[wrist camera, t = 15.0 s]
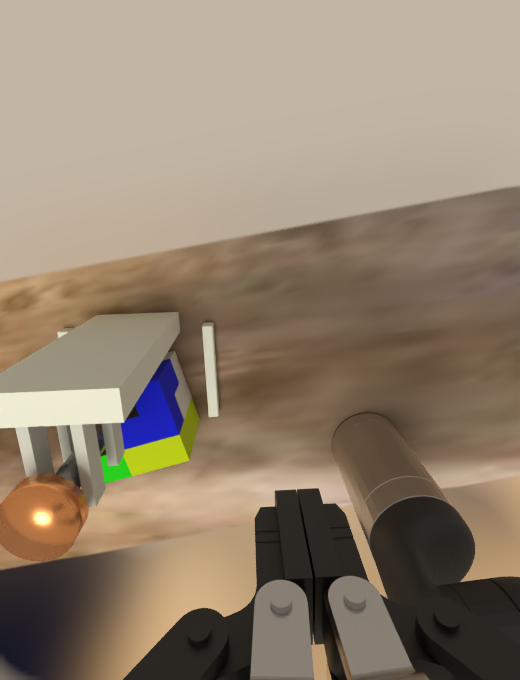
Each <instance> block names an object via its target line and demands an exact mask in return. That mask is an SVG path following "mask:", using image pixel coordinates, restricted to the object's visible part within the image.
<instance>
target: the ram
mask: <svg viewBox="0 0 520 680" xmlns="http://www.w3.org/2000/svg"><path fill="white" fill-rule="evenodd" d="M95 426H96V433H97V439H98V445H99V451H100V455H101V454H102V452H103V451H104V449H105V443H104V436H103V430H102V424H95ZM80 487H81V483H80V477H79V472H78V466H77V461H76V456H75V450H73V452H72V453H71V454H70V456H69V457H68V458H67V460H66V461H65V462H64V464H63V465H62V466H61V467H60V469H59V470H58V471H57V473H56V474H55V475H54V474H37V475H33V476H30V477H28V478H26V479H24V480H22V481H21V482H20V483H19V484H18V485H17V486H16V487H15V488H14V489H13V491H12V492H11V493H10V494H9V495H8V496H7V497H6V498H5V500H4V501H3V502H2V503H1V504H0V544H1V545H2V546H3V547H4V548H5V549H6V550H7V551H9V552H10V553H12V554H14V555H15V556H18V557H20V558H23V559H26V560H31V561H48V560H52V559H55V558H58V557H60V556H62V555H63V554H65V553H66V552H67V551H68V550H69V549H70V548H71V547H72V545H73V543H74V541H75V540H76V538H77V536H78V534H79V532H80V530H81V529H82V527H83V525H84V523H85V521H86V519H87V516H88V510H89V508H88V502H87V499H86V497H85V495H84V493H83V492H82V490H81V489H80Z"/></svg>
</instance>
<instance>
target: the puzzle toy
mask: <svg viewBox="0 0 520 680" xmlns="http://www.w3.org/2000/svg"><path fill="white" fill-rule="evenodd" d="M198 423H199V416H198V413H197V410H196V407H195V405H194V402H193V399H192V396H191V394H190V391H189V388H188V385H187V383H186V380H185V377H184V374H183V372H182V369H181V366H180V363H179V361H178V358H177V355H176V352H175V350H174V351H171V352H167V354H166V355H165V357H164V359H163V360H162V362H161V363H160V365H159V367H158V368H157V370H156V372H155V373H154V375H153V376H152V378H151V380H150V381H149V383H148V384H147V386H146V388H145V389H144V391H143V393H142V394H141V396H140V397H139V399H138V401H137V402H136V404H135V406H134V407H133V409H132V410H131V412H130V414H129V415H128V417H127V418H126V420H125V422H124V423H121V429H122V436H123V443H124V450H125V453H124V455H123V457H122V459H121V461H120V462H119V464H118V466H108V461H107V455H106V449H104V451H103V452H102V454H101V455H100V457H101V463H102V469H103V475H104V481H105V483H108V482H112V481H116V480H120V479H123V478H127V477H131V476H134V475H138V474H142V473H145V472H149V471H153V470H156V469H160V468H164V467H167V466H171V465H175V464H178V463H182V462H186V461H189V460H190V456H191V452H192V448H193V443H194V439H195V435H196V431H197V427H198Z"/></svg>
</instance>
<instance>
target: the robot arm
mask: <svg viewBox="0 0 520 680" xmlns="http://www.w3.org/2000/svg"><path fill="white" fill-rule="evenodd" d="M332 450H333V454H334V457H335V460H336V462H337V465H338V467H339V470H340V473H341V475H342V478H343V481H344V483H345V486H346V488H347V491H348V493H349V496H350V499H351V501H352V504H353V506H354V509H355V511H356V514H357V517H358V519H359V522H360V524H361V527H362V530H363V531H364V534H365V537H366V539H367V542H368V545H369V547H370V550H371V552H372V555H373V558H374V560H375V563H376V566H377V569H378V572H379V575H380V577H381V581H382V583H383V586H384V589H385V592H386V594H387V597H388V599H387V598H385V597H383V596H382V595H381V594H379V592H378V590H377V589H376V588H375V587H374V586H373V585H372V584H371V583H370V582H369V580H368V578H367V575H366V572H365V569H364V566H363V564H362V561H361V558H360V555H359V552H358V549H357V546H356V544H355V541H354V539H353V535H352V532H351V529H350V527H349V523H348V520H347V518H346V515H345V513H344V512H343V511H342V510H341V509H340V508H339V507H338V506H337V505H336V504H335V503H334V504H323V502H322V499H321V495H320V491H319V489H318V488H317V489H297V492H296V490H279V491H275V507H261V508H260V510H259V512H258V513H257V515H256V517H255V542H256V573H257V589H256V593H255V595H254V597H253V599H252V601H251V602H250V603H249V604H248V605H247V606H246V607H245V608H243V609H242V610H241V611H238V612H237V613H234V614H232V615H229V616H227V617H223V616H222V615H221V614H220V613H219V612H217V611H215V610H212V609H208V608H200V609H196V610H193V611H190V612H188V613H187V614H185V615H184V616H183V617H182V618H181V619H180V620H179V621H178V622H177V623H176V624H175V625H174V626H173V627H172V628H171V629H170V630H169V631H168V632H167V633H166V634H165V636H164V637H163V638H162V639H161V640H160V641H159V642H158V643H157V644H156V645H155V646H154V647H153V648H152V649H151V650H150V651H149V653H148V654H147V655H146V656H145V657H144V658H143V659H142V660H141V661H140V662H139V663H138V664H137V665H136V666H135V667H134V668H133V669H132V670H131V672H130V673H129V674H128V675H127V676H126V677H125V678H124V679H123V680H314V673H313V661H312V650H311V645H312V643H313V642H312V641H313V636H312V635H314V642H315V644H324V645H325V651H326V656H327V678H328V680H520V577H497V578H490V579H480V580H474V581H466V582H460V581H461V580H462V579H463V578H464V576H465V575H466V574H467V572H468V571H469V569H470V567H471V565H472V563H473V560H474V555H475V543H474V539H473V536H472V533H471V531H470V529H469V527H468V526H467V524H466V523H465V521H464V520H463V519H462V517H461V516H460V515H459V513H458V512H457V511H456V509H455V508H454V506H453V505H452V504H451V502H450V501H449V500H448V498H447V497H446V496H445V494H444V493H443V492H442V490H441V489H440V488H439V486H438V485H437V484H436V482H435V481H434V480H433V478H432V477H431V476H430V474H429V473H428V472H427V470H426V469H425V467H424V466H423V465H422V463H421V462H420V461H419V459H418V458H417V457H416V455H415V454H414V453H413V451H412V450H411V449H410V447H409V446H408V445H407V443H406V442H405V441H404V439H403V438H402V436H401V435H400V434H399V432H398V431H397V430H396V429H395V427H394V426H393V425H392V423H391V422H390V421H389V420H387V419H386V418H385V417H383V416H381V415H377V414H374V413H363V414H358V415H355V416H352V417H350V418H349V419H347V420H345V421H344V422H343V423H342V424H341V425H340V426H339V427H338V429H337V430H336V432H335V434H334V436H333V440H332Z"/></svg>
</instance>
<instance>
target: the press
mask: <svg viewBox="0 0 520 680" xmlns="http://www.w3.org/2000/svg"><path fill="white" fill-rule="evenodd" d="M202 332H203V345H204V359H205V372H206V385H207V399H208V412H209V417H218V415H219V399H218V384H217V369H216V354H215V339H214V324H213V322H207V323H203V326H202ZM57 333H58V339H56V340H55V341H53V342H51V343H50V344H48V345H46V346H45V347H43V348H41V349H40V350H38V351H36V352H34V353H33V354H31V355H29V356H28V357H26V358H24V359H23V360H21V361H19V362H18V363H16V364H14V365H13V366H11V367H9V368H8V369H6V370H4V371H3V372H1V373H0V428H16V432H17V437H18V441H19V446H20V450H21V454H22V459H23V463H24V468H25V472H26V476H27V478H28V477H30V476H33V475H37V474H54V475H55V473H54V468H53V463H52V458H51V454H50V449H49V444H48V439H47V434H46V429H45V426H57V431H58V436H59V441H60V446H61V451H62V457H63V462H65V461H66V460H67V458H68V457H69V456H70V454H71V453H72V452H73V450H75V456H76V461H77V466H78V472H79V477H80V483H81V488H82V492H83V493H84V495H85V497H86V499H87V502H88V507H90V506H97V504H98V502H99V500H100V498H101V496H102V494H103V492H104V491H105V489H106V487H105V481H104V475H103V469H102V463H101V457H100V451H99V445H98V439H97V433H96V426H95V424H102V430H103V436H104V443H105V449H106V455H107V461H108V466H118V464H119V462H120V461H121V459H122V457H123V455H124V453H125V450H124V443H123V436H122V429H121V423H124V422H125V420H126V418H127V417H128V415H129V414H130V412H131V410H132V409H133V407H134V406H135V404H136V402H137V401H138V399H139V397H140V396H141V394H142V393H143V391H144V389H145V388H146V386H147V384H148V383H149V381H150V380H151V378H152V376H153V375H154V373H155V372H156V370H157V368H158V367H159V365H160V363H161V362H162V360H163V359H164V357H165V355H166V354H167V352H168V351H169V349H170V347H171V346H172V344H173V342H174V341H175V339H176V338H177V336H178V334H179V333H180V322H179V312H162V313H136V314H110V315H96V316H95V317H93V318H91V319H90V320H88V321H86V322H85V323H83V324H81V325H80V326H78V327H76V328H64V329H62V330H61V331H59V332H57Z"/></svg>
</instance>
